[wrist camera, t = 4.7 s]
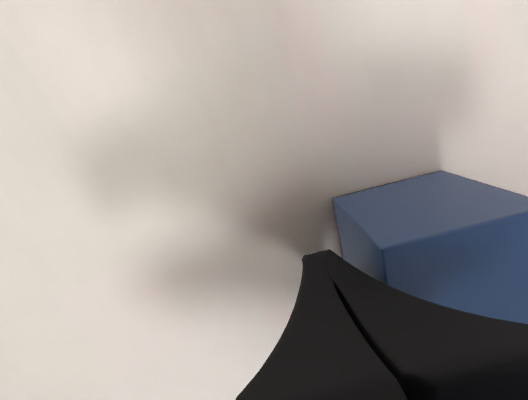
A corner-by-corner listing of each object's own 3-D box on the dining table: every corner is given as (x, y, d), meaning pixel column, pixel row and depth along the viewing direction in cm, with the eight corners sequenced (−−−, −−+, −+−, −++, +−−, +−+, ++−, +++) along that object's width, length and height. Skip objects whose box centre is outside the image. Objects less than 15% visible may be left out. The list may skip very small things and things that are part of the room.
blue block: (442, 169, 12) (557, 204, 7) (448, 267, 13) (549, 345, 9) (331, 197, 12) (381, 248, 7) (349, 292, 13) (399, 381, 9)
